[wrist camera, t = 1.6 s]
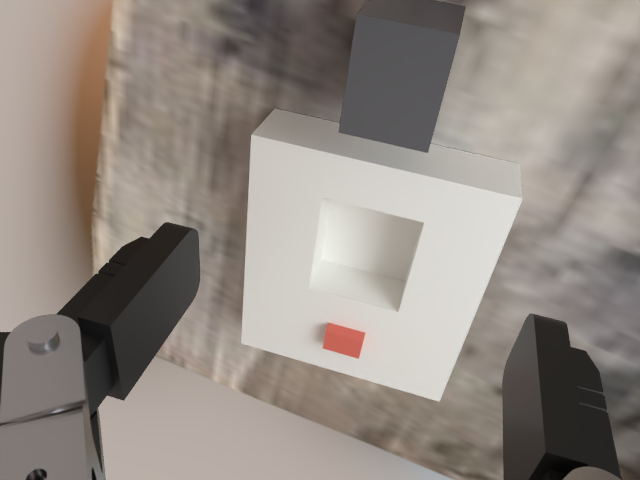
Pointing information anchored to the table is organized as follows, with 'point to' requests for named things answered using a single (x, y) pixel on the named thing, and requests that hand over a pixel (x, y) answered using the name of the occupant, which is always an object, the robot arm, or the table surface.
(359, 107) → the plug
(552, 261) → the table surface
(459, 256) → the socket
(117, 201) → the table surface
